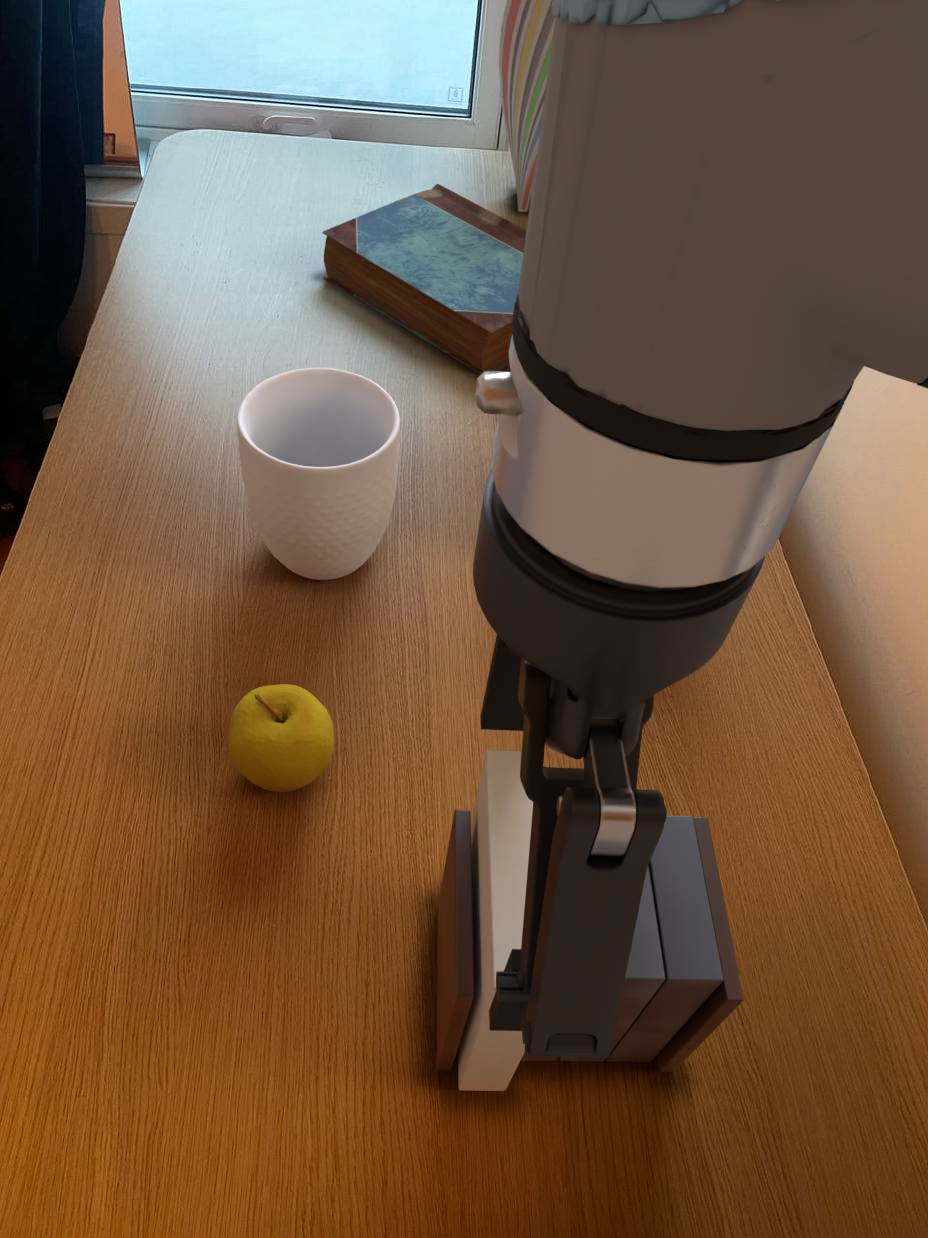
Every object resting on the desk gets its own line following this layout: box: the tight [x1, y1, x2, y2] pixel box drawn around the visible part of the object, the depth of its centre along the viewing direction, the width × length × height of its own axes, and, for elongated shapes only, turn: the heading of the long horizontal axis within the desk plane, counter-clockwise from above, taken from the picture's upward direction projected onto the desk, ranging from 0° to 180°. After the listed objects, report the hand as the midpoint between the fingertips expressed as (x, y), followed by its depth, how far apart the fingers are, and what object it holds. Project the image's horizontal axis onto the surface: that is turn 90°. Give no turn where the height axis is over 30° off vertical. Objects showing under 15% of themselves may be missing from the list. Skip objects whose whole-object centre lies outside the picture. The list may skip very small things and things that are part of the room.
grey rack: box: [436, 808, 745, 1073], centre depth 48 cm, size 13×9×13 cm
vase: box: [498, 0, 556, 213], centre depth 101 cm, size 14×14×30 cm
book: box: [321, 183, 527, 376], centre depth 96 cm, size 23×18×5 cm
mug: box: [236, 367, 401, 581], centre depth 69 cm, size 15×11×13 cm
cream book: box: [457, 749, 533, 1092], centre depth 47 cm, size 2×11×16 cm, turn 1°
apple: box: [228, 683, 335, 793], centre depth 57 cm, size 6×6×8 cm
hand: (515, 857), depth 40 cm, fingers open, 13 cm apart
